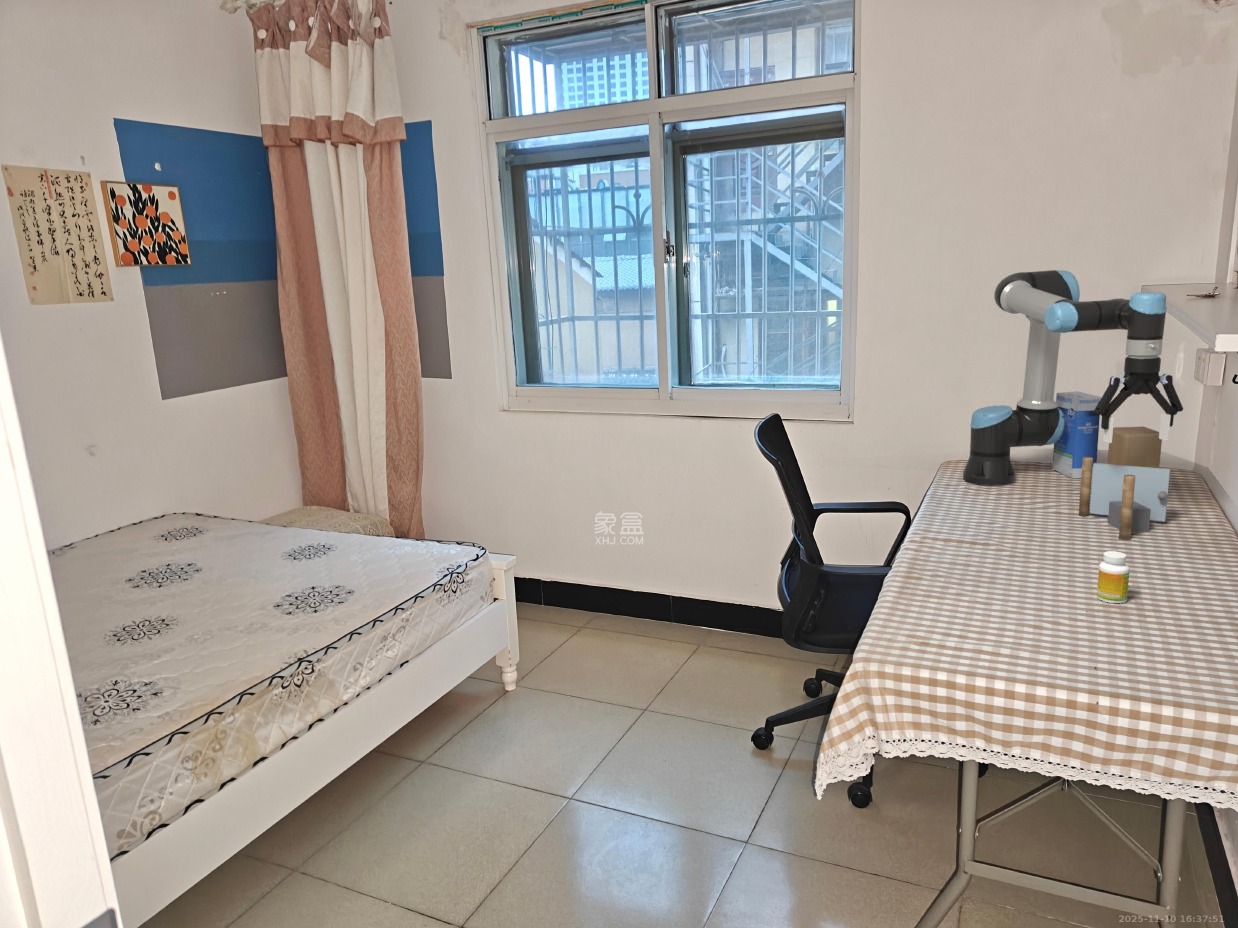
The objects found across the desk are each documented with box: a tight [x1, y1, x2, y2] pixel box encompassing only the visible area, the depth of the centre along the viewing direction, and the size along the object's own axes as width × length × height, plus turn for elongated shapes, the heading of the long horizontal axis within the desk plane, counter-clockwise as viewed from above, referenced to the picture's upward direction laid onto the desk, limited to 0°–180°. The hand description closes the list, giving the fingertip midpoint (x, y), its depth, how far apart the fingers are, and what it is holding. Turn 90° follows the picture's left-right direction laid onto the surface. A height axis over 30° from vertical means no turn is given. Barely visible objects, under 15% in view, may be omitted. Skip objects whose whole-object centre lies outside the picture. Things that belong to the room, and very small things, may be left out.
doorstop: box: [1107, 501, 1151, 533], centre depth 213 cm, size 8×6×6 cm
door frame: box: [1078, 457, 1135, 541], centre depth 214 cm, size 23×2×16 cm, turn 177°
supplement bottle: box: [1096, 550, 1130, 604], centre depth 170 cm, size 5×5×10 cm
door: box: [1089, 462, 1171, 522], centre depth 217 cm, size 17×4×14 cm, turn 53°
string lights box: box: [1052, 391, 1102, 480], centre depth 266 cm, size 13×8×26 cm, turn 1°
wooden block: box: [1106, 426, 1163, 468], centre depth 237 cm, size 10×10×20 cm
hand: (1135, 440), depth 210 cm, fingers open, 13 cm apart
